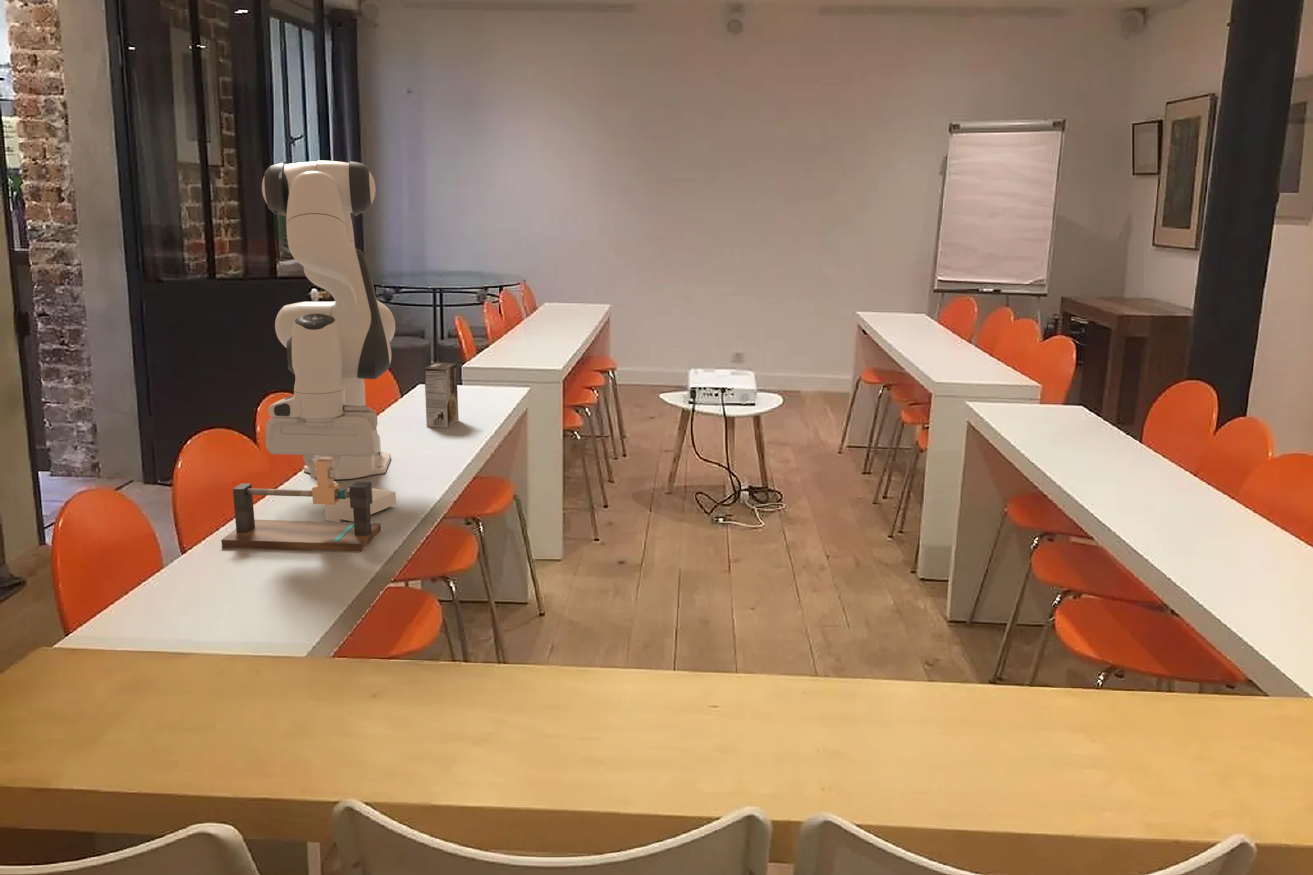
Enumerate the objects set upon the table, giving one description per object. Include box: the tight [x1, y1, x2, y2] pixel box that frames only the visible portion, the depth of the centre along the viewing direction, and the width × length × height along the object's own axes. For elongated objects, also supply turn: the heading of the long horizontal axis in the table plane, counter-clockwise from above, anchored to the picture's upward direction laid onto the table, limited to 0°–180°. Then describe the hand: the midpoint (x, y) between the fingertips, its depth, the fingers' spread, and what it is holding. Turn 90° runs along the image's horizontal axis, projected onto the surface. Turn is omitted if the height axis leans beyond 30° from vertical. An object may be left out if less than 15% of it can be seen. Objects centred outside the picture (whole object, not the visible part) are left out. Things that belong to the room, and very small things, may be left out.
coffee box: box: [423, 361, 460, 429], centre depth 298 cm, size 9×6×16 cm
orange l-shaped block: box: [311, 457, 341, 506], centre depth 204 cm, size 3×4×8 cm
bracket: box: [324, 481, 397, 523], centre depth 222 cm, size 13×7×8 cm, turn 154°
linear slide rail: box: [221, 481, 382, 553], centre depth 206 cm, size 12×26×11 cm, turn 86°
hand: (325, 477), depth 204 cm, fingers closed on orange l-shaped block, 2 cm apart
